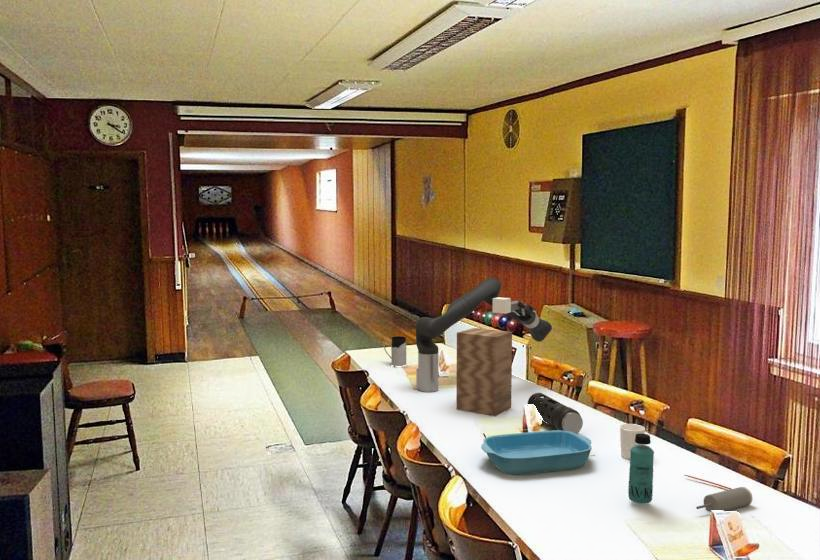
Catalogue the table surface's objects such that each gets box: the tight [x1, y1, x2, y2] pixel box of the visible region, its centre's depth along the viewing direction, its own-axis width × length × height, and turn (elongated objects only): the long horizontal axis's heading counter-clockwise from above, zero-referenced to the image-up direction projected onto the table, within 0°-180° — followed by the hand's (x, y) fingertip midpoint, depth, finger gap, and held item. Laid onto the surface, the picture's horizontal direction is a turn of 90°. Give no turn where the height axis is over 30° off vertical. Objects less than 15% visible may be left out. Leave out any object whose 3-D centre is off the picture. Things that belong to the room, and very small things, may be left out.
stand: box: [455, 327, 513, 417], centre depth 290 cm, size 18×14×32 cm
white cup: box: [619, 423, 646, 460], centre depth 235 cm, size 8×8×10 cm
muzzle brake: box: [527, 392, 584, 434], centre depth 266 cm, size 10×28×10 cm, turn 16°
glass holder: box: [382, 335, 407, 366], centre depth 373 cm, size 9×14×15 cm, turn 57°
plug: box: [492, 296, 524, 315], centre depth 306 cm, size 6×19×6 cm, turn 145°
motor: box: [684, 474, 753, 512], centre depth 203 cm, size 23×22×5 cm
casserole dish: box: [480, 429, 593, 475], centre depth 229 cm, size 37×22×7 cm, turn 104°
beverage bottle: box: [627, 433, 655, 505], centre depth 196 cm, size 6×7×20 cm
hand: (514, 302), depth 309 cm, fingers closed on plug, 4 cm apart
